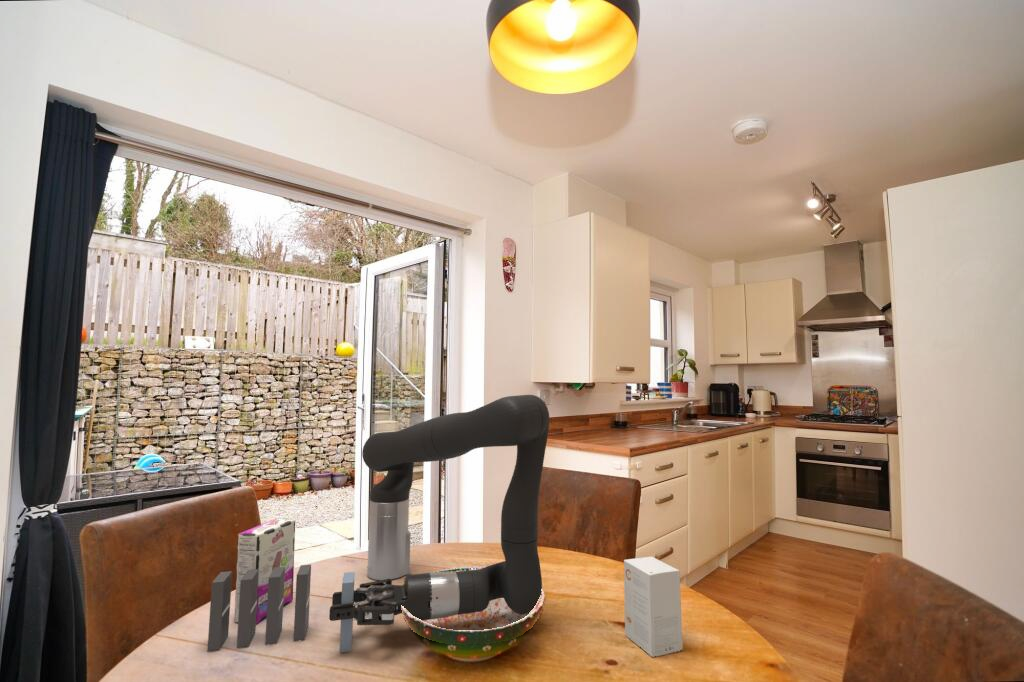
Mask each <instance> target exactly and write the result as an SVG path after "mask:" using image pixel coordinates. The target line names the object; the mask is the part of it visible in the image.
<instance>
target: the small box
mask: <svg viewBox="0 0 1024 682" xmlns="http://www.w3.org/2000/svg"><path fill="white" fill-rule="evenodd" d="M623 574H624V575H623V576H624V577H623V580H624V581H623V582H624V583H623V586H624V589H623V590H624V592H623V593H624V634H625V637H626V638H628V639H629V638H630V640H631V641H632V642H633V643H634V644H635V645H637V646H638V647H639V648H640V647H641V650H643V651H644V652H645V651H646V652H645V653H646V654H648V655H649V656H650V657H651V658H654V657H655V656H656V657H660V656H664V655H668V654H669V653H670V654H673V652H674V653H677V651H678V652H680V650H682V651H683V649H684V648H683V646H684V645H683V623H682V618H683V617H682V598H681V597H682V596H681V594H682V593H681V571H680V570H679V569H678V568H675V567H673V566H671V565H670V564H667V563H665V562H664V561H661V560H660V559H657V557H656V558H655V557H654V556H645V557H636V558H629V559H628V558H627V559H624V560H623Z"/></svg>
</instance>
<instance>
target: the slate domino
mask: <svg viewBox="0 0 1024 682" xmlns="http://www.w3.org/2000/svg"><path fill="white" fill-rule="evenodd" d="M354 590H355V571H349V572H343V577H342V581H341V592H342V602H341V604H350V603H353V602H354ZM354 604H355V602H354V603H353V606H354ZM353 619H354V618H353ZM353 619H344V620H340V629H339V632H340V633H339V635H340V636H339V653H340V652H342V653H349V651H350V652H352V643H353V630H354V629H353V628H354V626H353V625H354V620H353Z"/></svg>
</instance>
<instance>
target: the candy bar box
mask: <svg viewBox="0 0 1024 682" xmlns="http://www.w3.org/2000/svg"><path fill="white" fill-rule="evenodd" d="M295 535H296V519H293V518H292V519H290V518H289V519H288V518H280V517H279V518H275V519H272V520H270V521H267V522H264V523H261V524H259V525H257V526H254V527H252V528H249V529H247V530H244V531H242V532H240V533H238V534H237V551H236V576H235V577H236V579H235V596H234V597H235V601H234V602H235V603H234V621H233V622H234V623H236V624H238V616H239V599H240V582H241V579H242V578H243V576H244V575H245V573H246V572H247V571H248V570H252V569H259V577H258V595H257V614H256V625H258V624H259V623H261V622H262V621H264V620H265V619H267V600H268V582H269V576H270V575H271V573H272V571H273V569H274V568H277V567H285V580H284V600H283V607H284V606H286V605H287V604H290V603H291V602H292V601H293V600H294V575H295V573H294V571H295V569H294V568H295V544H296V543H295V541H296V540H295V539H296V538H295V537H296V536H295Z"/></svg>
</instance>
